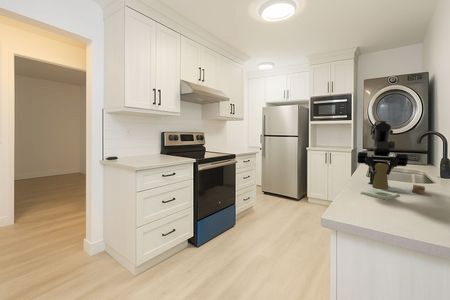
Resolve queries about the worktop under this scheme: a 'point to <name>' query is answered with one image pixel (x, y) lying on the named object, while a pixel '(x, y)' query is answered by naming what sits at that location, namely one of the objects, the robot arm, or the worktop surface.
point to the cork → (381, 176)
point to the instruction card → (400, 190)
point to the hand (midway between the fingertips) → (381, 173)
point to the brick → (418, 189)
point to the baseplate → (380, 194)
